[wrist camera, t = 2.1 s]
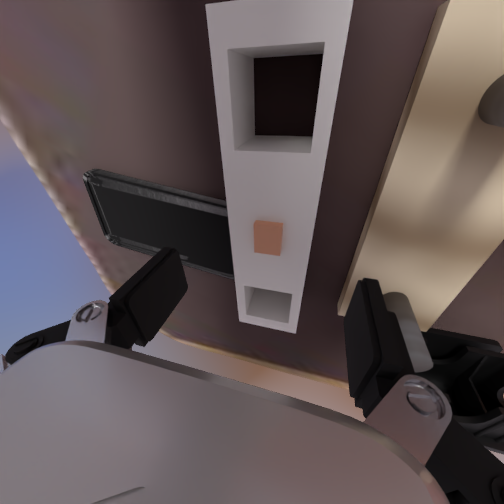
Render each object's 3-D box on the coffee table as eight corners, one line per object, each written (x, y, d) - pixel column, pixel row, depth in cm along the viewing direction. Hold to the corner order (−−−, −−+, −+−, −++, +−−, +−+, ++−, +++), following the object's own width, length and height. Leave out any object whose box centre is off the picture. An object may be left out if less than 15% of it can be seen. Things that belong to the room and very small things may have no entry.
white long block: (239, 26, 11) (199, -1, 7) (346, 16, 10) (358, -22, 6) (251, 288, 22) (237, 326, 19) (299, 297, 21) (295, 338, 18)
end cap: (356, 354, 25) (365, 426, 19) (378, 316, 20) (395, 396, 15) (460, 378, 22) (499, 466, 17) (508, 341, 18) (581, 445, 13)
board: (438, 7, 9) (567, -80, 4) (677, -17, 7) (1332, -201, 3) (337, 304, 20) (340, 371, 16) (421, 320, 19) (453, 398, 14)
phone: (78, 168, 18) (251, 212, 16) (90, 164, 19) (255, 206, 17) (107, 243, 23) (241, 283, 21) (115, 237, 24) (244, 275, 22)
